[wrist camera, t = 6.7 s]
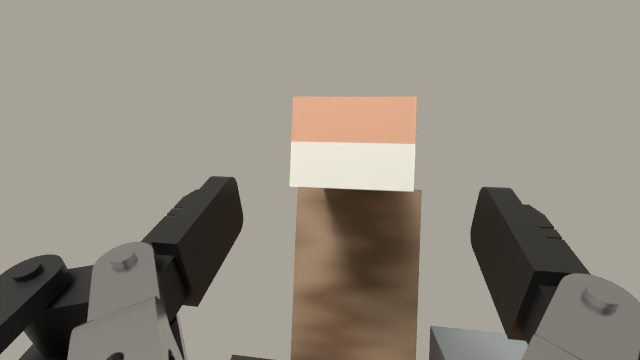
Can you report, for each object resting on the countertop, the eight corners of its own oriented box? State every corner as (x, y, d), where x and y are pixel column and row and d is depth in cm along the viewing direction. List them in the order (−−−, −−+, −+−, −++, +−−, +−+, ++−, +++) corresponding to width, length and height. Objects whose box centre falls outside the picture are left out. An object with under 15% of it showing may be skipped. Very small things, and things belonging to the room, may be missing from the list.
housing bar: (384, 187, 29) (385, 154, 29) (413, 191, 10) (417, 96, 10) (339, 186, 30) (341, 153, 30) (289, 186, 11) (293, 96, 11)
